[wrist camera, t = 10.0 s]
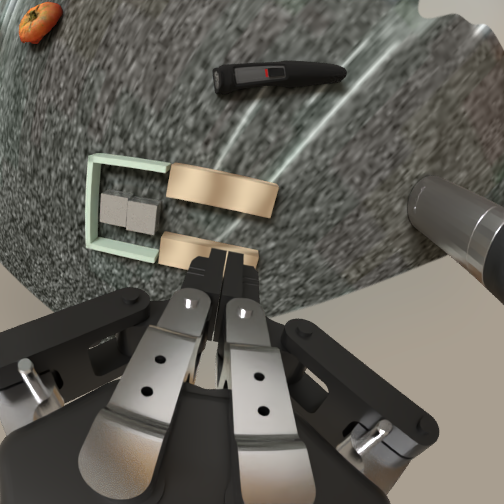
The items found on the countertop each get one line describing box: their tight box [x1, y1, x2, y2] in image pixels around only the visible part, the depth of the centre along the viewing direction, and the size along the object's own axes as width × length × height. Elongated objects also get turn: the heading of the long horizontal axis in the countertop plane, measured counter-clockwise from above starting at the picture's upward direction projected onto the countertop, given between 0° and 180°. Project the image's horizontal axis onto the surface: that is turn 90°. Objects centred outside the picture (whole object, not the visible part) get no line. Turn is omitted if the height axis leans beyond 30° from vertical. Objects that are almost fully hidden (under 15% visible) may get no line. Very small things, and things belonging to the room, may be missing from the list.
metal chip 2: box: [126, 196, 162, 235], centre depth 34 cm, size 4×4×2 cm
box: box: [85, 153, 171, 263], centre depth 33 cm, size 11×13×2 cm
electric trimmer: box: [213, 61, 347, 94], centre depth 27 cm, size 4×16×3 cm, turn 96°
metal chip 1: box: [100, 189, 134, 227], centre depth 33 cm, size 4×4×2 cm
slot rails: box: [159, 163, 279, 276], centre depth 35 cm, size 13×14×2 cm
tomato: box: [19, 2, 63, 44], centre depth 18 cm, size 8×7×7 cm
